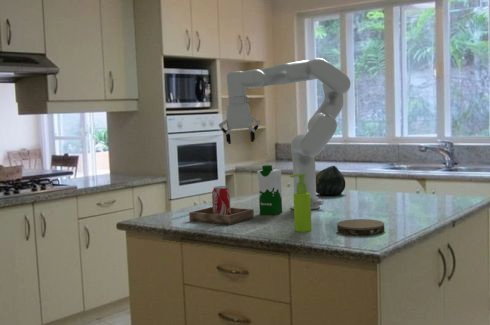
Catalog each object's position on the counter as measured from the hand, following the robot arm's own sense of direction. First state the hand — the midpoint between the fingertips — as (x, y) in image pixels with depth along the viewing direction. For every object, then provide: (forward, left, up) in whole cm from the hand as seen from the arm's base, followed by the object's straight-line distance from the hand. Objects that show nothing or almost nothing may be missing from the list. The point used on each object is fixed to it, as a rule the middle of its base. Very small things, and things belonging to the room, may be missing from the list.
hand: (240, 142), depth 257 cm
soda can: (-1, +16, -29) cm, 33 cm away
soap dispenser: (-41, +20, -30) cm, 54 cm away
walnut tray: (-1, +16, -30) cm, 33 cm away
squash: (-8, -58, -30) cm, 66 cm away
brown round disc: (-60, +12, -30) cm, 68 cm away
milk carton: (-11, -4, -30) cm, 32 cm away
